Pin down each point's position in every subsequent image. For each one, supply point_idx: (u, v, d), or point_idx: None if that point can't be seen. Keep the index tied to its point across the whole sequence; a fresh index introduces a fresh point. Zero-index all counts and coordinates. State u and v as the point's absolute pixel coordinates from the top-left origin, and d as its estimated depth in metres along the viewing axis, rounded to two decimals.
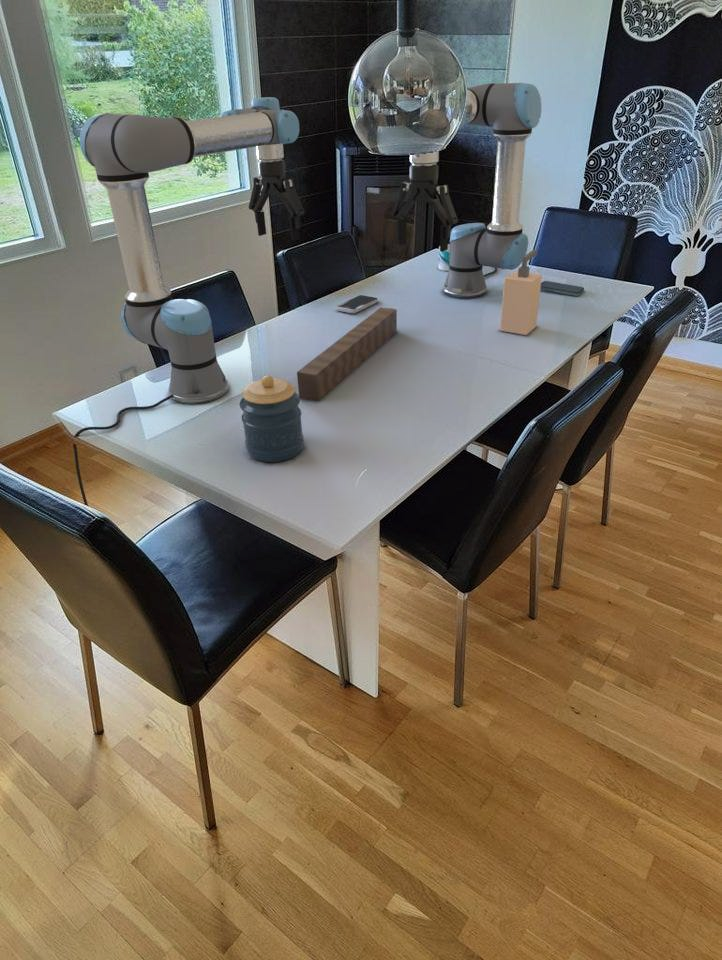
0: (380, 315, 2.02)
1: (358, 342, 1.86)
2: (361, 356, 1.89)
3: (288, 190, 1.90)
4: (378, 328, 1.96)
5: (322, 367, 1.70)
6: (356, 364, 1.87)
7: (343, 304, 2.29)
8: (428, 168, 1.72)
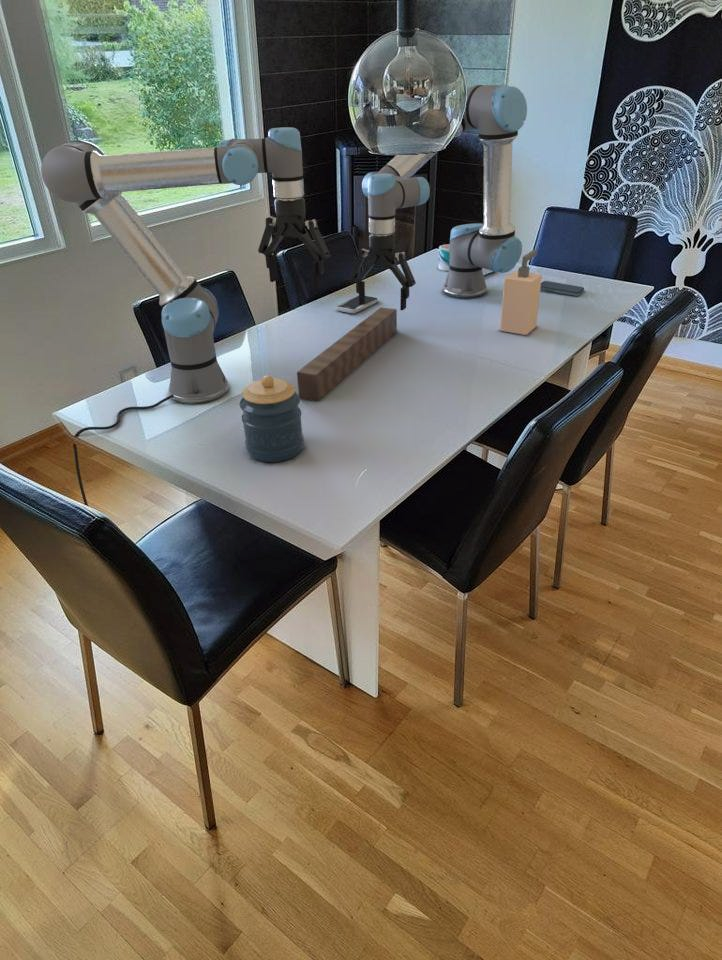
0: (380, 315, 2.02)
1: (358, 342, 1.86)
2: (361, 356, 1.89)
3: (312, 232, 1.67)
4: (378, 328, 1.96)
5: (322, 367, 1.70)
6: (356, 364, 1.87)
7: (343, 304, 2.29)
8: None
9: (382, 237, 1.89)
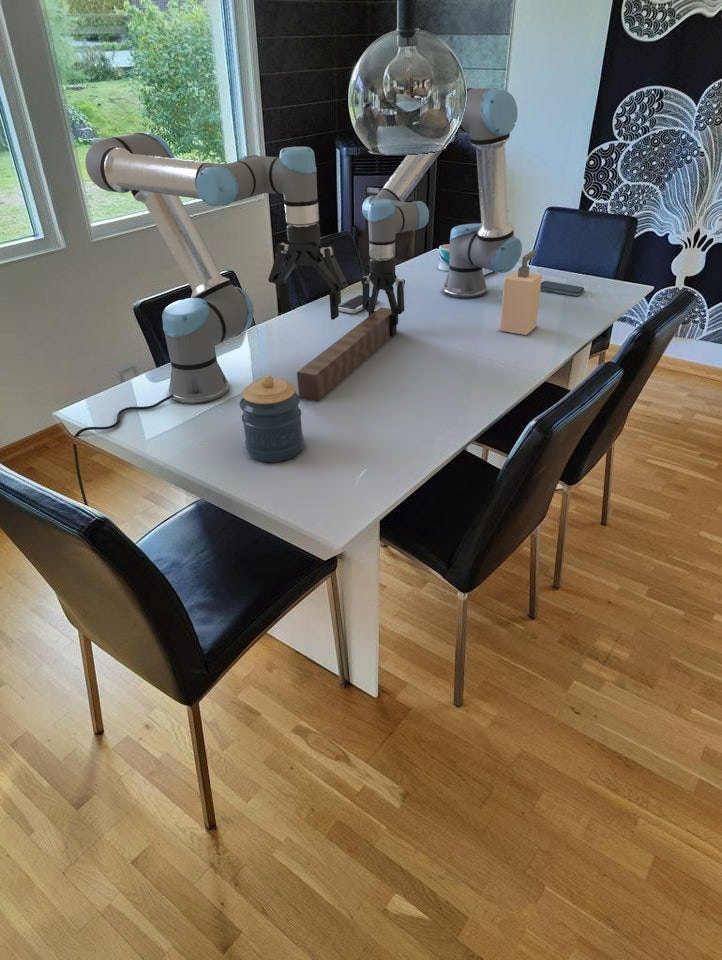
0: (380, 315, 2.02)
1: (358, 342, 1.86)
2: (361, 356, 1.89)
3: (329, 260, 1.52)
4: (378, 328, 1.96)
5: (322, 367, 1.70)
6: (356, 364, 1.87)
7: (343, 304, 2.29)
8: None
9: (382, 261, 1.92)
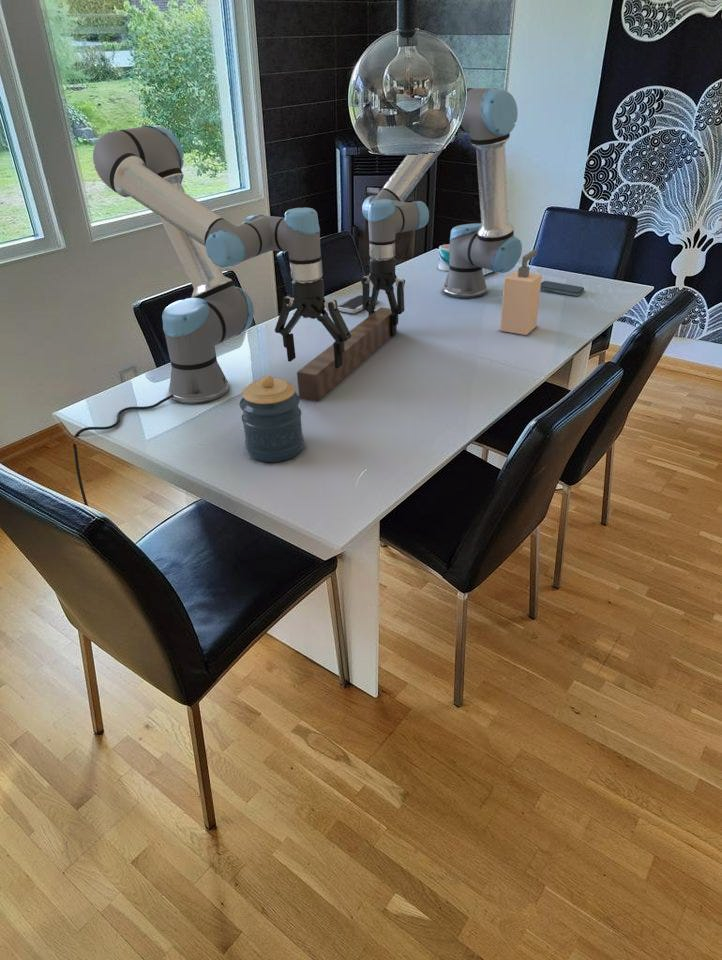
0: (380, 315, 2.02)
1: (358, 342, 1.86)
2: (361, 356, 1.89)
3: (332, 313, 1.59)
4: (378, 328, 1.96)
5: (322, 367, 1.70)
6: (356, 364, 1.87)
7: (343, 304, 2.29)
8: None
9: (382, 261, 1.92)
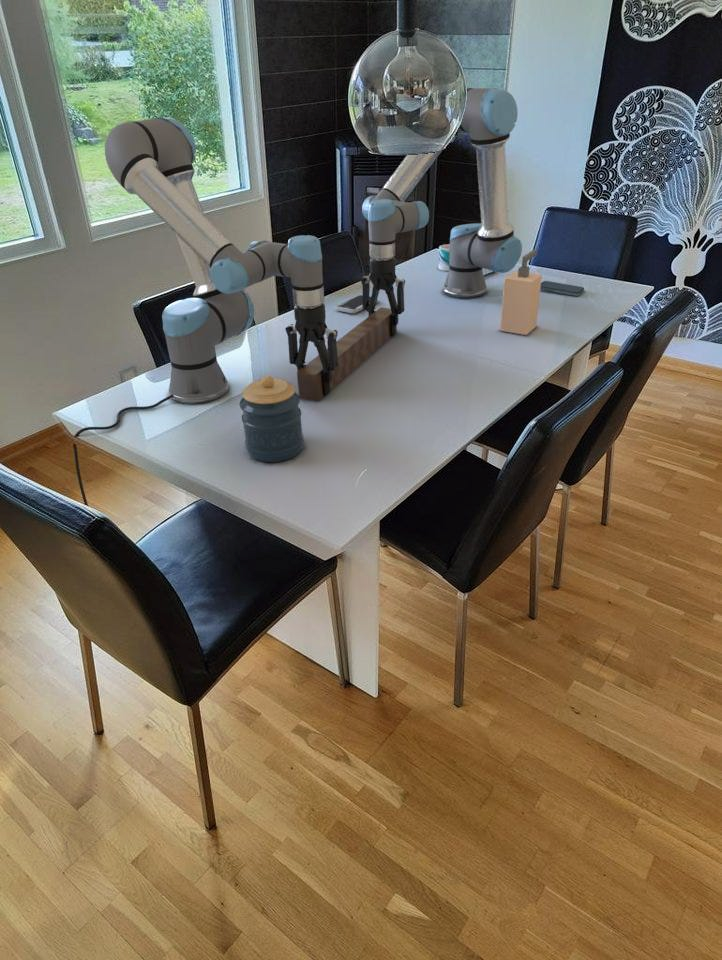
0: (380, 315, 2.01)
1: (358, 342, 1.86)
2: (361, 356, 1.89)
3: (330, 343, 1.63)
4: (378, 328, 1.96)
5: (322, 367, 1.70)
6: (356, 364, 1.87)
7: (343, 304, 2.29)
8: None
9: (382, 261, 1.92)
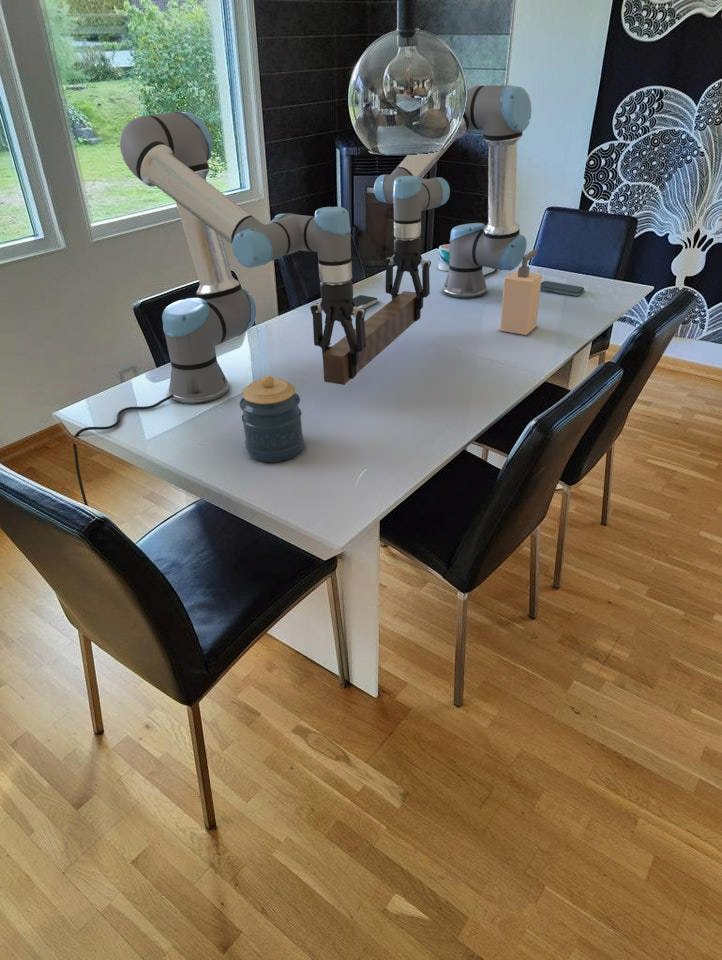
0: (404, 299, 1.93)
1: (384, 325, 1.77)
2: (386, 340, 1.80)
3: (358, 322, 1.54)
4: (403, 312, 1.88)
5: (349, 349, 1.61)
6: (382, 348, 1.78)
7: None
8: None
9: (408, 241, 1.84)
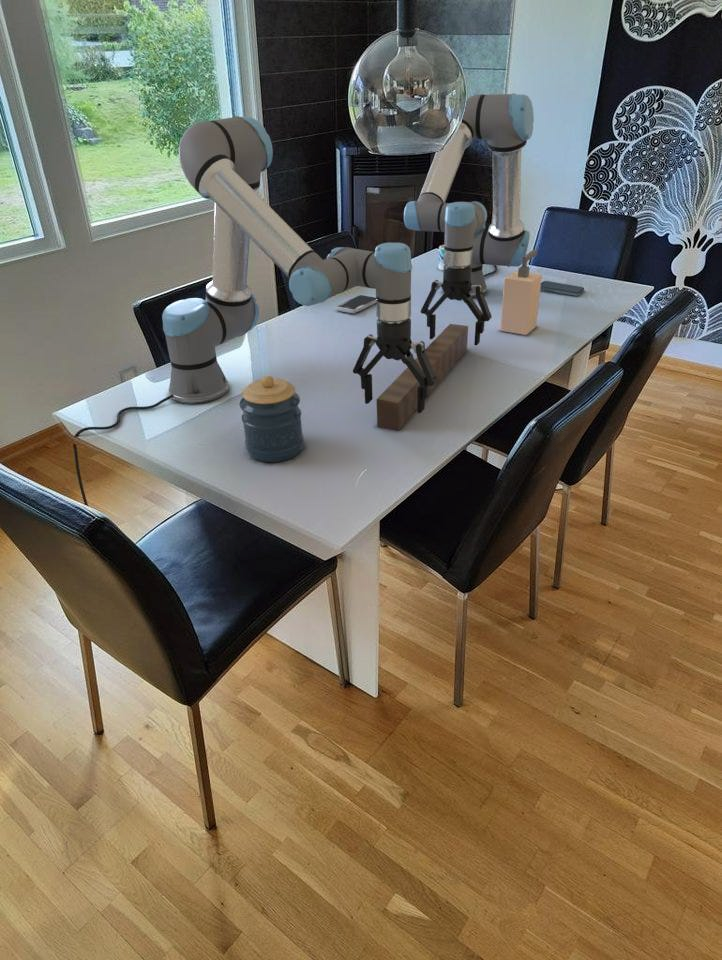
0: (451, 333, 1.87)
1: (435, 364, 1.71)
2: None
3: (420, 356, 1.47)
4: (452, 347, 1.82)
5: (403, 393, 1.56)
6: (432, 387, 1.73)
7: (343, 304, 2.29)
8: None
9: (459, 269, 1.77)
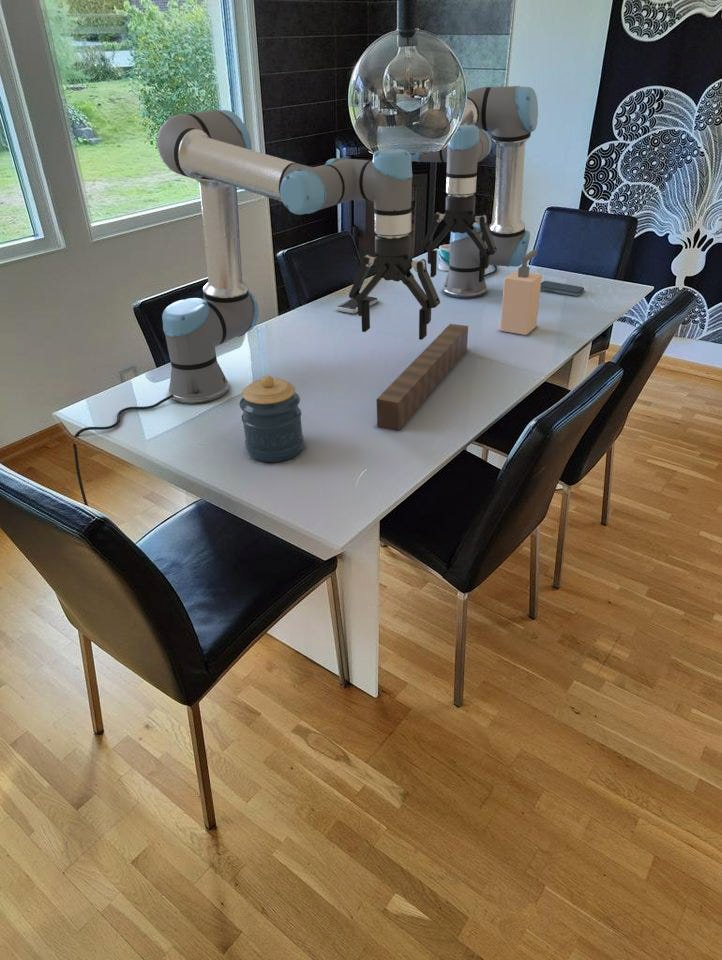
0: (451, 333, 1.87)
1: (435, 364, 1.71)
2: (436, 379, 1.75)
3: (421, 275, 1.37)
4: (452, 347, 1.82)
5: (403, 393, 1.56)
6: (432, 387, 1.73)
7: (343, 304, 2.29)
8: None
9: (462, 198, 1.67)
